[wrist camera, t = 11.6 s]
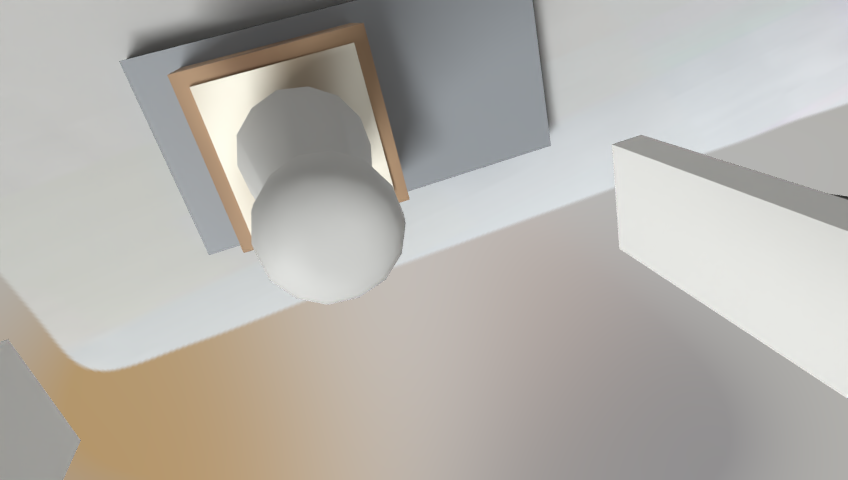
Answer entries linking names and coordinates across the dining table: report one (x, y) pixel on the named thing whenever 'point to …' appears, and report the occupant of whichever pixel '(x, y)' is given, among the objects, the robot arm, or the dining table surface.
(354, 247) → the salt shaker
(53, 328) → the dining table surface
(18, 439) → the robot arm
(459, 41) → the build plate
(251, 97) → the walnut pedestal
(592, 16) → the dining table surface
